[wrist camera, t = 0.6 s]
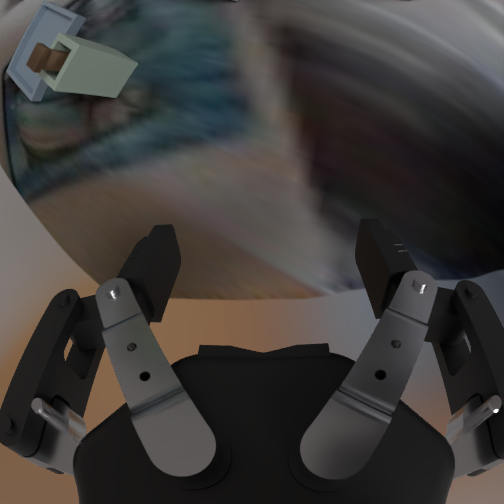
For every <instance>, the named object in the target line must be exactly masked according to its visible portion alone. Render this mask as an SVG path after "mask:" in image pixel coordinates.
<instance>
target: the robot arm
mask: <svg viewBox="0 0 504 504" xmlns="http://www.w3.org/2000/svg"><path fill="white" fill-rule="evenodd" d="M355 259H356V264H357V266H358V269H359V272H360V274H361V277H362V280H363V283H364V285H365V288H366V291H367V294H368V297H369V300H370V303H371V305H372V309H373V312H374V315H375V318H376V319H380V321H379V323H378V325H377V326H376V328H375V330H374V332H373V334H372V335H371V337H370V339H369V341H368V343H367V344H366V346H365V348H364V349H363V351H362V353H361V354H360V356H359V358H358V359H357V361H356V362H355V361H354V360H351V359H350V358H348V357H345V356H342V355H339V354H335V353H330V352H329V345H328V343H323V344H305V345H295V346H290V347H286V348H282V349H279V350H274V351H270V352H265V353H262V352H256V351H252V350H247V349H242V348H238V347H233V346H218V345H200V346H199V351H198V354H197V355H192V356H188V357H185V358H183V359H180V360H179V361H177V362H175V363H173V364H172V365H170V364H169V362H168V361H167V359H166V357H165V355H164V353H163V352H162V350H161V348H160V346H159V344H158V342H157V340H156V339H155V337H154V335H153V333H152V331H151V329H150V327H149V325H150V322H161V320H162V317H163V314H164V311H165V308H166V305H167V302H168V299H169V297H170V294H171V291H172V288H173V285H174V282H175V280H176V277H177V274H178V271H179V269H180V265H181V256H180V251H179V247H178V243H177V239H176V235H175V231H174V227H173V226H172V225H171V224H169V225H155V226H154V227H153V229H152V231H151V232H150V234H149V236H148V237H144V238H143V239H142V240H141V241H139V242H138V243H137V244H136V246H135V247H134V249H133V251H132V253H131V254H130V256H129V257H128V259H127V261H126V262H125V264H124V266H123V267H122V269H121V271H120V273H119V274H118V276H117V278H113V279H110V280H108V281H106V282H104V283H103V284H102V285H101V286H100V287H99V288H98V289H97V291H96V294H95V295H92V296H88V297H84V298H80V297H79V295H78V293H77V291H76V290H74V289H66V290H63V291H61V292H60V293H58V294H57V295H56V296H55V297H54V298H53V299H52V301H51V302H50V304H49V306H48V307H47V309H46V311H45V313H44V314H43V316H42V318H41V320H40V322H39V324H38V326H37V327H36V329H35V331H34V333H33V335H32V337H31V339H30V341H29V343H28V345H27V347H26V349H25V351H24V353H23V356H22V358H21V360H20V362H19V364H18V367H17V369H16V371H15V373H14V376H13V378H12V380H11V383H10V386H9V388H8V391H7V393H6V395H5V398H4V401H3V403H2V406H1V409H0V442H1V443H2V444H3V445H4V446H6V447H8V448H9V449H11V450H12V451H14V452H16V453H17V454H18V455H19V456H21V457H23V458H25V459H27V460H28V461H30V462H32V463H34V464H36V465H38V466H40V467H42V468H46V469H48V470H50V471H52V472H54V473H57V474H64V473H67V474H69V475H72V476H74V477H75V481H76V485H77V490H78V496H79V504H445V503H446V499H447V495H448V492H449V488H450V486H451V483H452V480H454V479H456V478H459V477H462V476H464V475H468V476H476V475H479V474H481V473H483V472H485V471H487V470H489V469H491V468H493V467H495V466H497V465H499V464H501V463H503V462H504V328H503V326H502V324H501V322H500V320H499V318H498V316H497V314H496V312H495V310H494V309H493V307H492V305H491V303H490V301H489V300H488V298H487V296H486V294H485V292H484V291H483V289H482V288H481V287H480V286H479V285H477V284H476V283H474V282H472V281H468V280H462V281H460V282H458V283H457V285H456V288H455V290H451V289H446V288H440V287H437V283H436V281H435V280H434V279H433V278H432V277H431V276H430V275H428V274H427V273H425V272H422V271H418V269H417V267H416V266H415V264H414V262H413V261H412V259H411V257H410V256H409V254H408V252H406V249H405V247H404V246H403V245H402V242H401V241H400V239H399V238H398V236H396V235H395V234H394V233H393V232H391V231H390V230H385V228H384V227H383V225H382V224H381V222H380V220H379V219H361V220H360V223H359V230H358V236H357V243H356V249H355ZM465 335H467V338H468V340H469V342H470V345H471V354H470V351H469V348H468V346H467V343H466V341H465V339H464V337H465ZM69 338H70V339H71V340H72V342H73V345H72V347H71V349H70V352H69V354H68V357H67V359H66V361H65V359H64V350H65V347H66V345H67V343H68V340H69ZM424 341H426V342H432V345H433V348H434V351H435V354H436V358H437V361H438V364H439V367H440V371H441V374H442V378H443V382H444V385H445V389H446V392H447V397H448V401H449V405H450V409H451V414H452V417H451V418H450V419H449V422H448V424H447V434H446V435H445V437H444V436H443V435H442V434H441V433H439V432H438V431H437V430H436V429H435V428H433V427H432V426H431V425H430V424H429V423H428V422H426V421H425V420H424V419H423V418H422V417H420V416H419V415H418V414H417V413H416V412H415V411H413V410H412V409H411V408H410V407H409V406H408V405H406V404H405V403H404V402H403V401H402V400H401V399H400V397H401V395H402V393H403V391H404V389H405V387H406V384H407V382H408V380H409V377H410V375H411V373H412V370H413V368H414V366H415V363H416V361H417V358H418V355H419V353H420V350H421V347H422V345H423V342H424ZM105 347H106V348H107V351H108V354H109V357H110V360H111V363H112V366H113V368H114V371H115V374H116V377H117V379H118V382H119V384H120V387H121V390H122V392H123V395H124V397H125V399H126V403H125V404H123V405H122V406H121V407H120V408H119V409H117V410H116V411H115V412H114V413H113V414H111V415H110V416H109V417H108V418H106V419H105V420H104V421H103V422H102V423H100V424H99V425H98V426H97V427H96V428H94V429H93V430H92V431H90V432H89V433H88V434H87V433H86V425H85V422H84V420H83V416H84V412H85V409H86V405H87V402H88V398H89V395H90V391H91V388H92V385H93V382H94V378H95V375H96V372H97V369H98V366H99V363H100V360H101V357H102V354H103V351H104V349H105Z"/></svg>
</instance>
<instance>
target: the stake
mask: <svg viewBox="0 0 504 504" xmlns="http://www.w3.org/2000/svg"><path fill="white" fill-rule="evenodd" d="M69 54H70V52H66V51H61V50H56V49H51V48H49V47H47V46H46V45H44V44H43V43H37V44H36V46H35V47H34V49H33V51H32V53H31V55H30V57H29V59H28V61H27V64H26V65H27V66H28V67H29V68H30V69H31V70H32V71H33V72H35V73H40V72H41V70H42V69H44V70H52V71H59V72H60V70H61V68H62V66H63V64H64V63H65V61H66V59H67V57H68V56H69Z"/></svg>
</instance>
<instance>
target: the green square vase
mask: <svg viewBox="0 0 504 504" xmlns="http://www.w3.org/2000/svg"><path fill="white" fill-rule="evenodd" d="M50 48H51V49H56V50H61V51H66V52H70V54H69V56H68V57H67V59H66V61H65V63H64V64H63V66H62V68H61V70H60V72H59V71H52V70H44V69H42V70H41V72H40V73H37V75H38V76H39V77H40V78H41V79H42V80H43V81H44V82H46V83H47V84H48V85H49V86H50V87H51V88H52V89H53V90H54V91H58V92H70V93H80V94H89V95H97V96H104V97H111V98H117V96H118V94H119V93H120V91H121V89H122V88H123V86H124V85H125V83H126V82H127V80H128V79H129V77H130V76H131V74H132V73H133V71H134V70H135V68H136V67H137V65H138V63H137V62H135V61H134V60H132V59H130V58H129V57H127V56H126V55H124V54H123V53H121V52H119V51H118V50H116V49H114V48H111V47H108V46H105V45H102V44H99V43H96V42H92V41H89V40H86V39H82V38H79V37H75V36H72V35H68V34H64V33H61V32H59V33H58V35H57V36H56V38H55V40H54V42H53V43H52V45H51V47H50Z"/></svg>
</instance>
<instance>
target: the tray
mask: <svg viewBox="0 0 504 504" xmlns="http://www.w3.org/2000/svg"><path fill="white" fill-rule="evenodd" d="M86 19H87V18H85V17H83V16H81V15H79V14H77V13H75V12H72V11H70V10H68V9H66V8H63V7H61V6H59V5H56V4H54V3H51V2H48V1H45V0H44V1H43V3H42V5H41V6H40V8H39V9H38V11H37V13H36V14H35V16H34V17H33V19H32V21H31V23H30V24H29V26H28V28H27V30H26V32H25V33H24V35H23V37H22V39H21V41H20V43H19V45H18V47H17V49H16V51H15V53H14V55H13V58H12V60H11V62H10V64H9V67H8V69H7V71H6V72H7V73H8V74H9V76H10V77H11V78H12V79H13V80H14V82H15V83H16V84H17V85H18V86H19V88H20V89H21V90H22V91H23V92H24V93H25V95H26V96H27V97H28V98H29V99H30V100H31V101H41V100H42V98H43V96H44V94H45V91H46V89H47V87H48V84H47V83H46V82H44V81H43V80H42V79H41V78H40V77H39V76H38V75H37V73H35V72H33V71H32V70H31V69H30V68H29V67H28V66H27V65H26V64H27V61H28V59H29V57H30V55H31V53H32V51H33V49H34V47H35V46H36V44H37V43H43V44H44V45H46V46H47V47H49V48H50V47H51V45H52V43H53V42H54V40H55V38H56V36H57V35H58V33H59V32H61V33H64V34H68V35H72V36H76V34H77V33H78V31H79V30H80V28H81V27H82V25H83V24H84V22H85V21H86Z"/></svg>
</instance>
